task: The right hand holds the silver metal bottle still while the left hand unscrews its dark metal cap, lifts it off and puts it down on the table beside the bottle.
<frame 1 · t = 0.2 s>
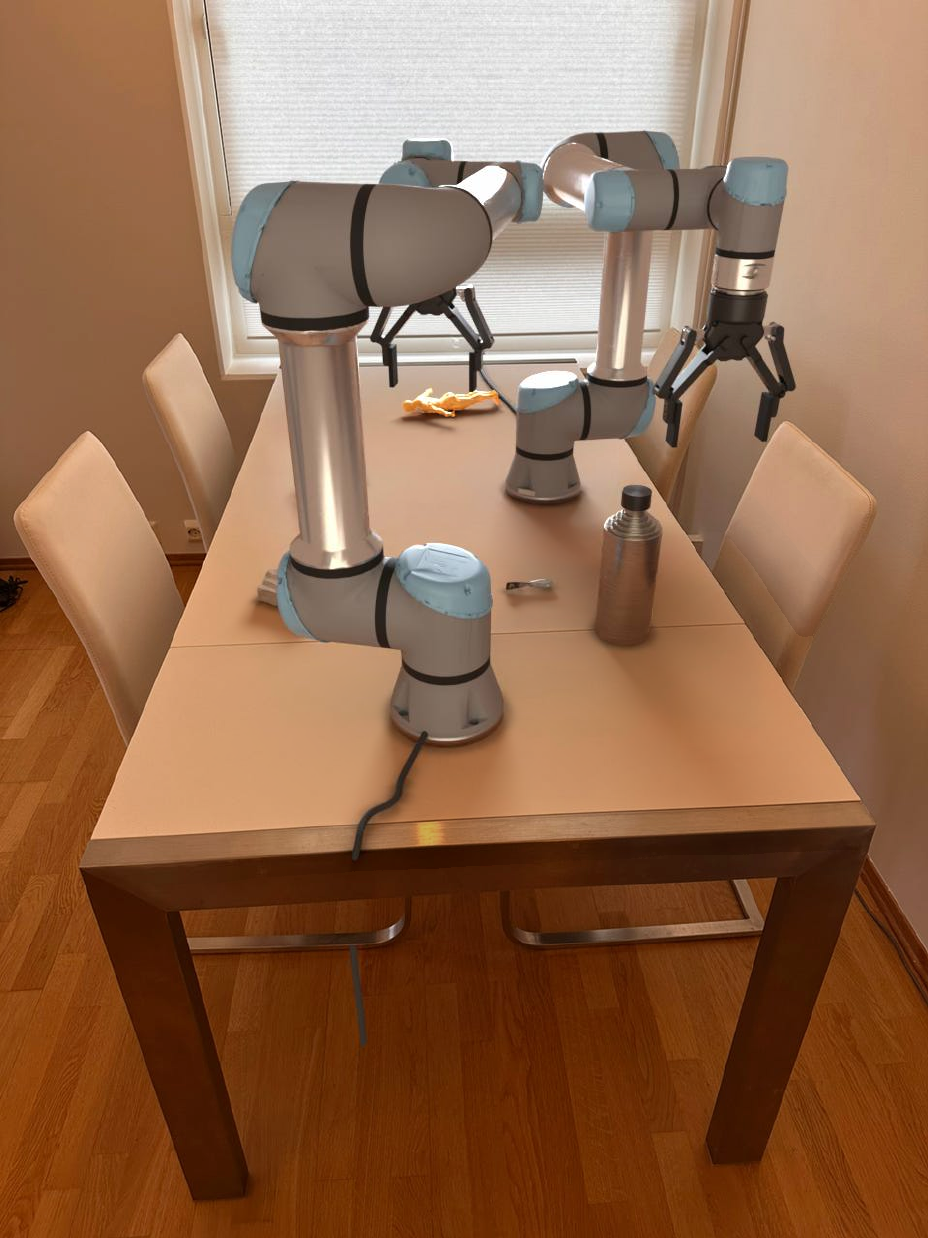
left hand: (433, 387, 149), 29 cm above the table, tool pointing down, fingers open, 13 cm apart
right hand: (716, 441, 129), 28 cm above the table, tool pointing down, fingers open, 13 cm apart
stone: (296, 599, 147), on the table
bottle: (622, 631, 138), on the table
handgun: (337, 495, 182), on the table
putty knife: (529, 589, 149), on the table
human figure: (450, 410, 226), on the table
cap: (636, 492, 126), point 23 cm above the table, screwed on, not yet turned
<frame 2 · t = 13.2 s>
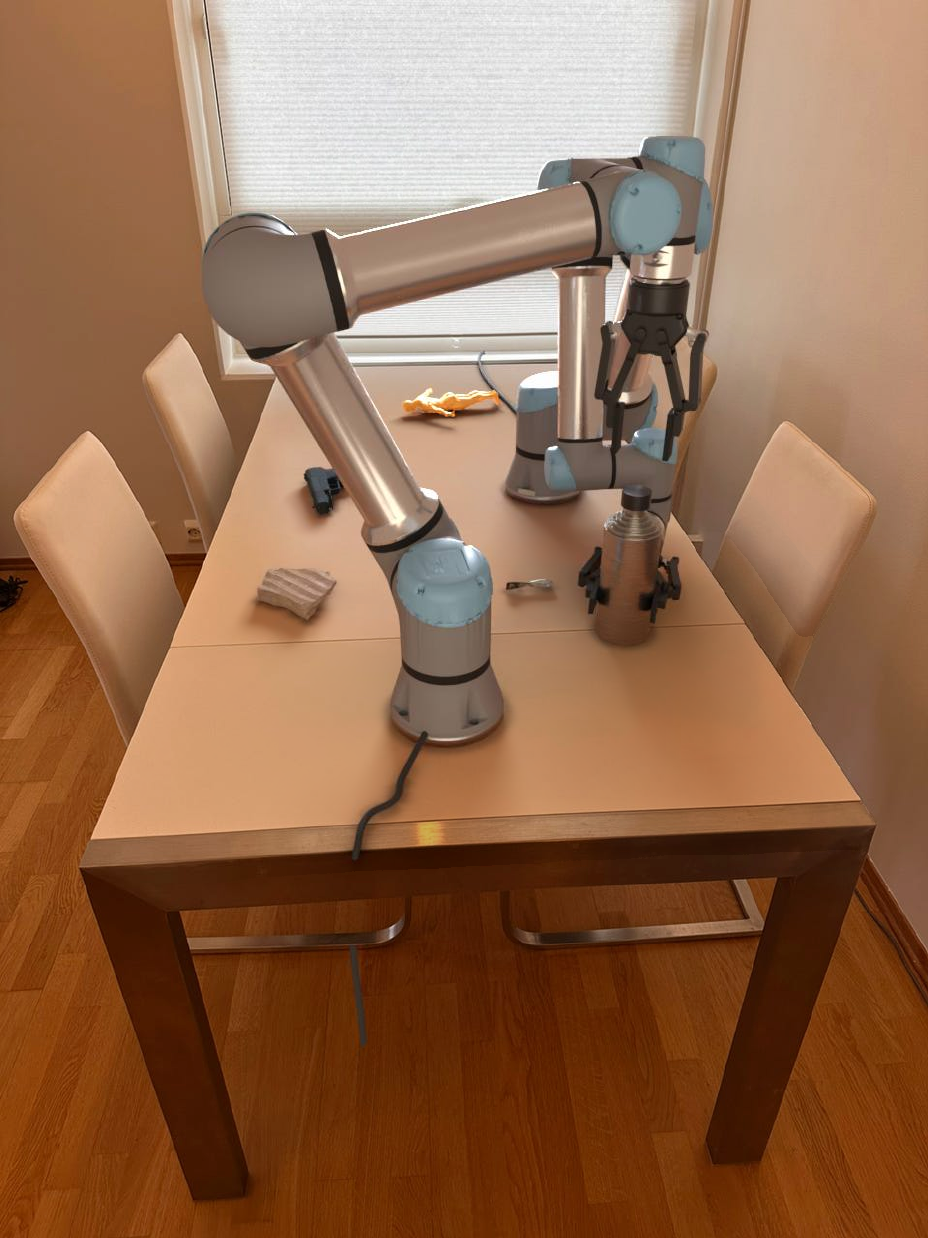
left hand: (641, 453, 123), 29 cm above the table, tool pointing down, fingers open, 6 cm apart
right hand: (621, 610, 131), 7 cm above the table, tool horizontal, fingers closed on bottle, 8 cm apart
bottle: (622, 631, 138), on the table, touching right hand
everything else where it was.
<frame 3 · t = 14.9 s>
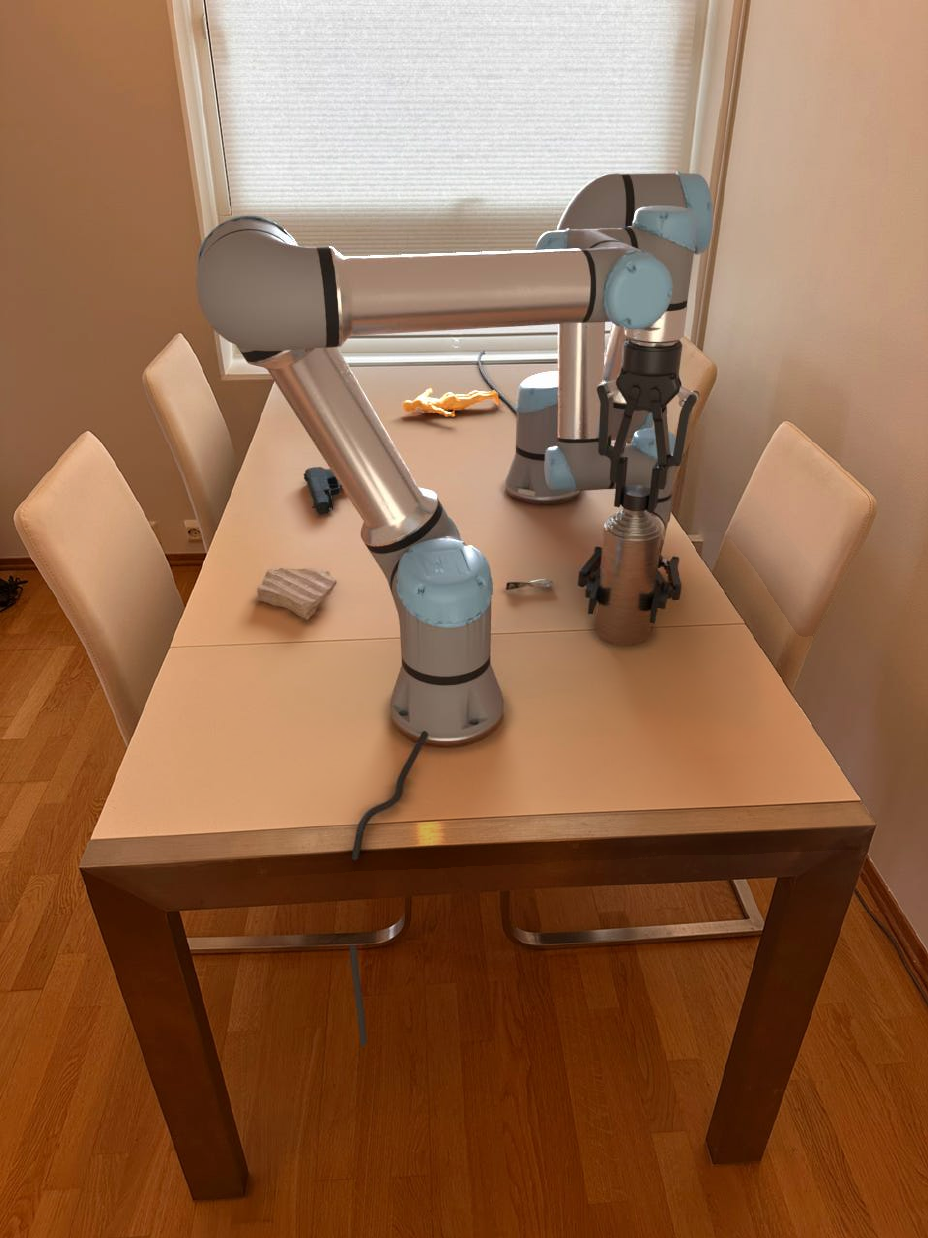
left hand: (635, 505, 127), 21 cm above the table, tool pointing down, fingers closed on cap, 4 cm apart
right hand: (621, 610, 131), 6 cm above the table, tool horizontal, fingers closed on bottle, 8 cm apart
bottle: (622, 631, 138), on the table, touching right hand
cap: (636, 492, 126), point 23 cm above the table, screwed on, not yet turned, touching left hand
everything else where it was.
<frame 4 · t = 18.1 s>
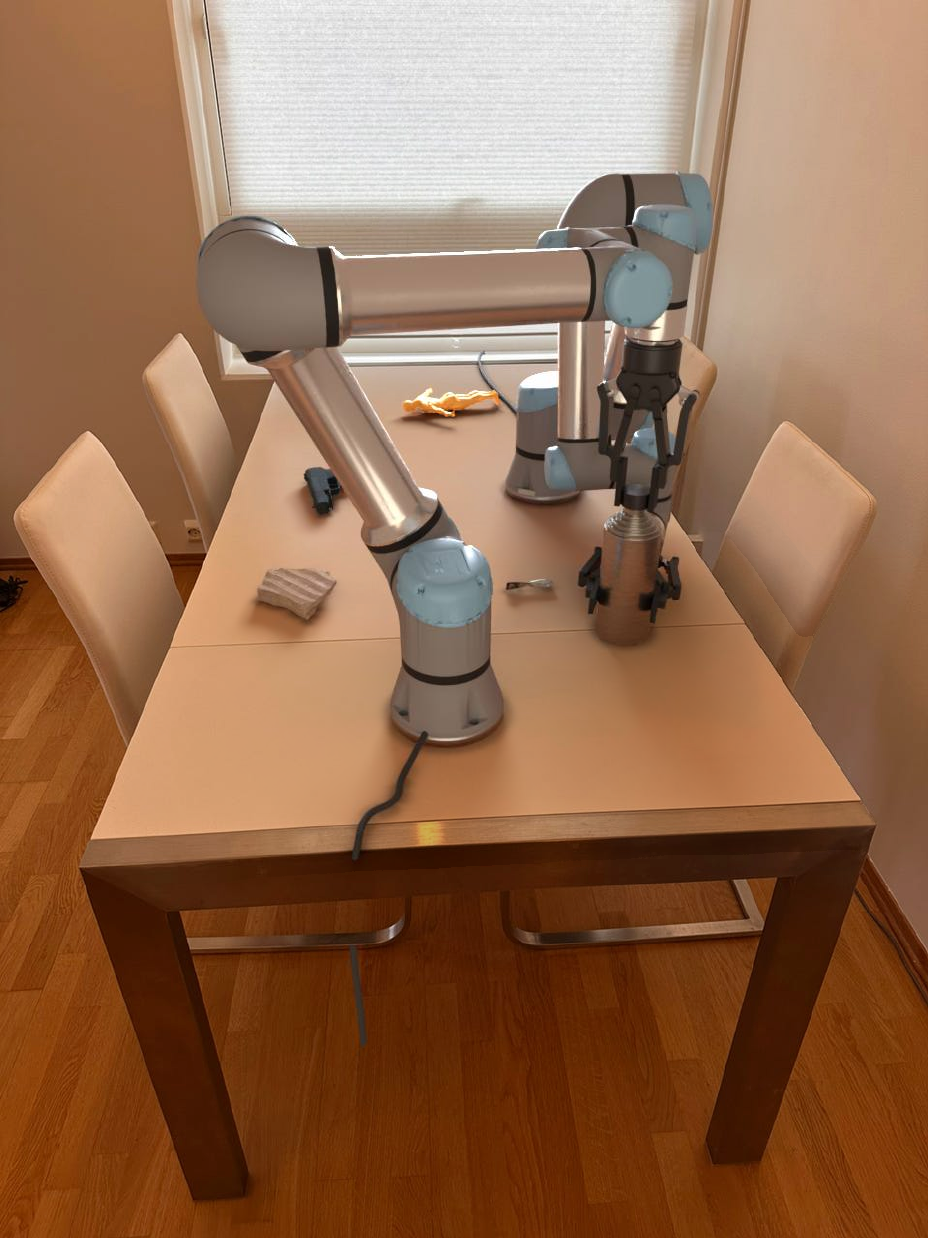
left hand: (635, 504, 127), 21 cm above the table, tool pointing down, fingers closed on cap, 4 cm apart
right hand: (621, 610, 131), 6 cm above the table, tool horizontal, fingers closed on bottle, 8 cm apart
bottle: (622, 631, 138), on the table, touching right hand
cap: (637, 491, 126), point 23 cm above the table, turned 106° so far, risen 0.1 cm, still on its thread, touching left hand
everything else where it was.
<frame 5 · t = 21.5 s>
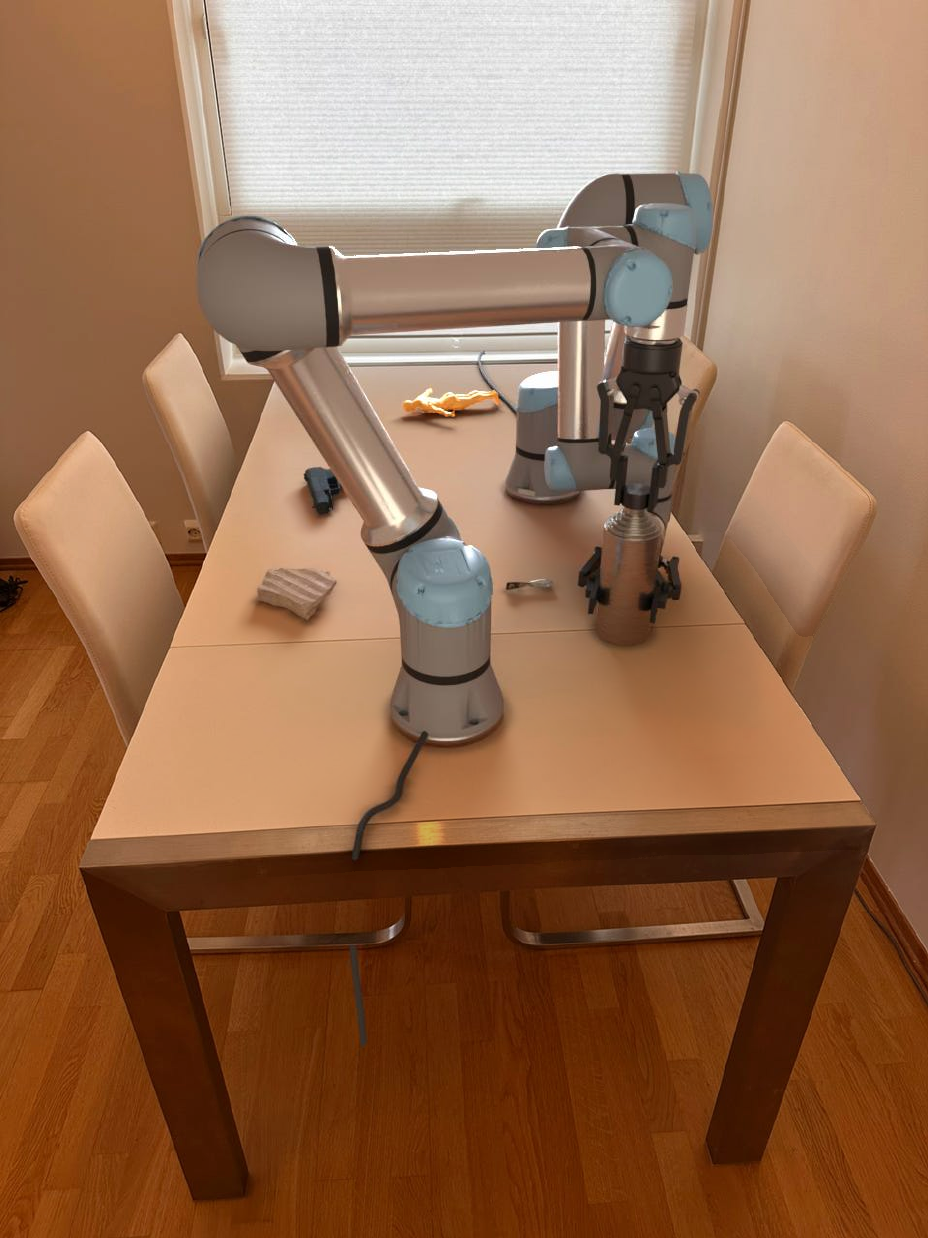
left hand: (635, 504, 127), 22 cm above the table, tool pointing down, fingers closed on cap, 4 cm apart
right hand: (621, 610, 131), 6 cm above the table, tool horizontal, fingers closed on bottle, 8 cm apart
bottle: (622, 631, 138), on the table, touching right hand
cap: (637, 490, 126), point 24 cm above the table, turned 211° so far, risen 0.2 cm, still on its thread, touching left hand
everything else where it was.
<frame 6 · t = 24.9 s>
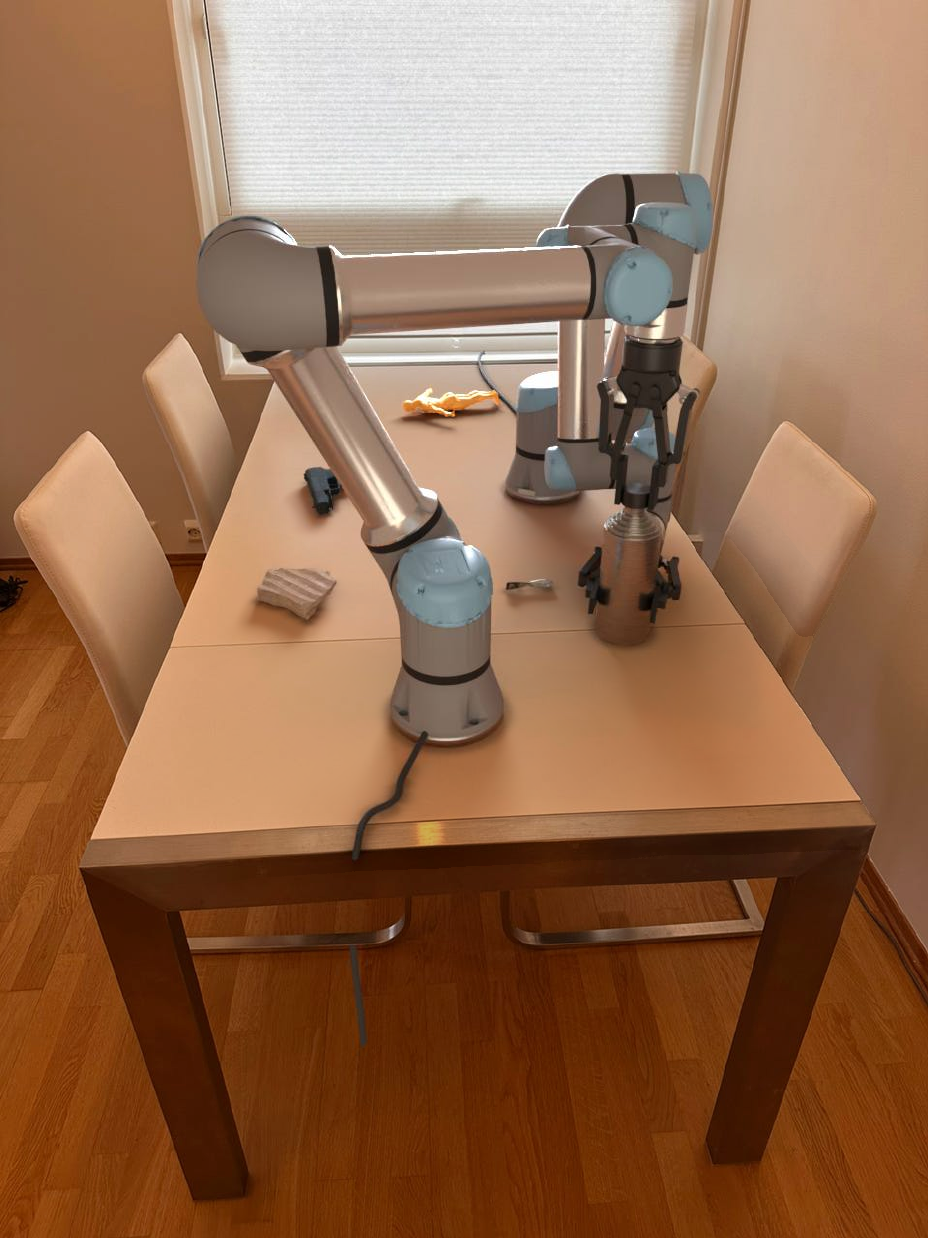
left hand: (635, 503, 127), 22 cm above the table, tool pointing down, fingers closed on cap, 4 cm apart
right hand: (621, 610, 131), 6 cm above the table, tool horizontal, fingers closed on bottle, 8 cm apart
bottle: (622, 631, 138), on the table, touching right hand
cap: (637, 490, 126), point 24 cm above the table, turned 317° so far, risen 0.3 cm, still on its thread, touching left hand
everything else where it was.
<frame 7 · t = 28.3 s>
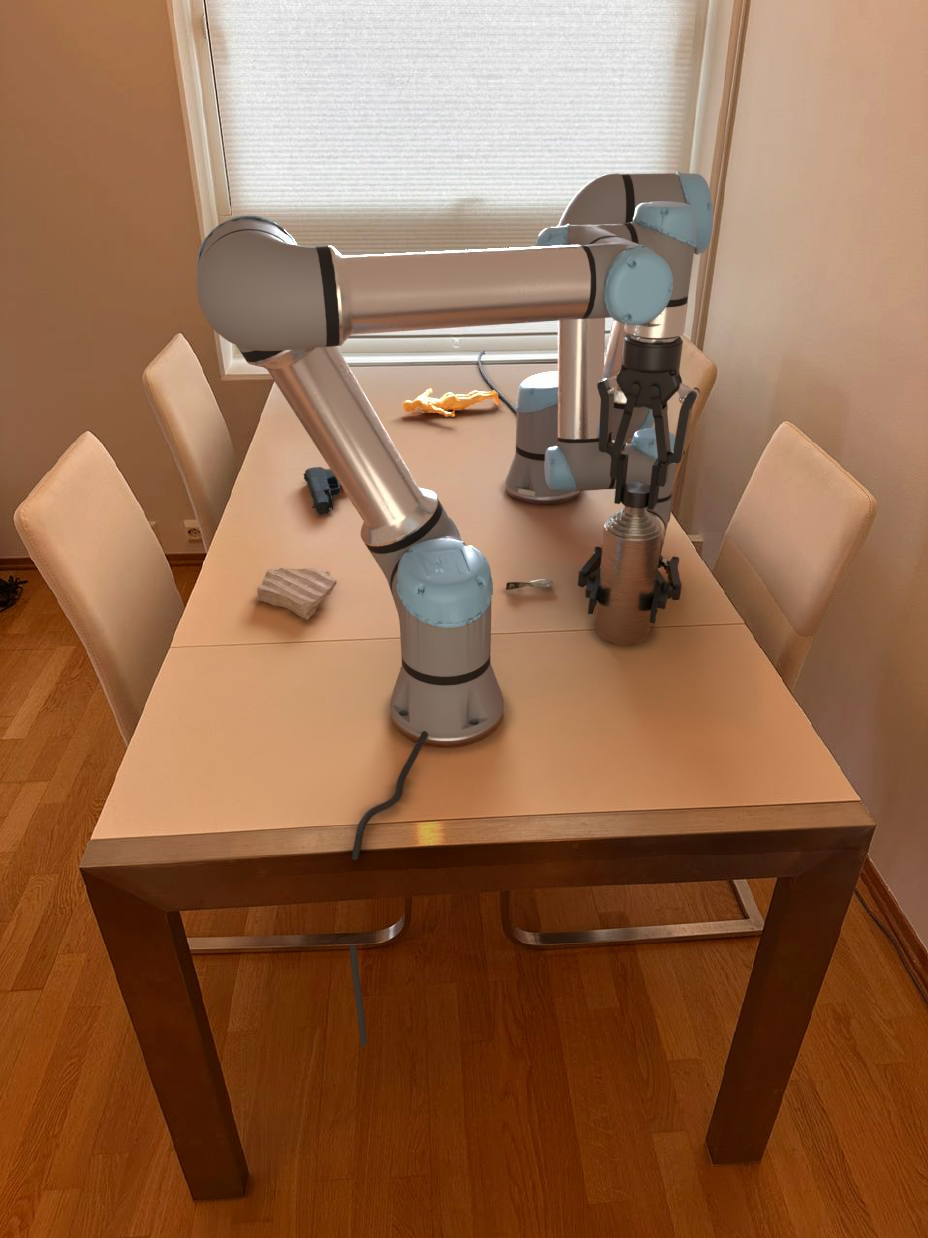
left hand: (635, 502, 126), 22 cm above the table, tool pointing down, fingers closed on cap, 4 cm apart
right hand: (621, 610, 131), 6 cm above the table, tool horizontal, fingers closed on bottle, 8 cm apart
bottle: (622, 631, 138), on the table, touching right hand
cap: (637, 489, 125), point 24 cm above the table, turned 423° so far, risen 0.5 cm, still on its thread, touching left hand
everything else where it was.
when the left hand's fingers open (1 cm above the table, at t = 35.4 s): cap drops 1 cm, point 2 cm above the table.
when the right hand's fingers open (7 cm above the table, at t = 36.7 s): bottle stays where it is, on the table.
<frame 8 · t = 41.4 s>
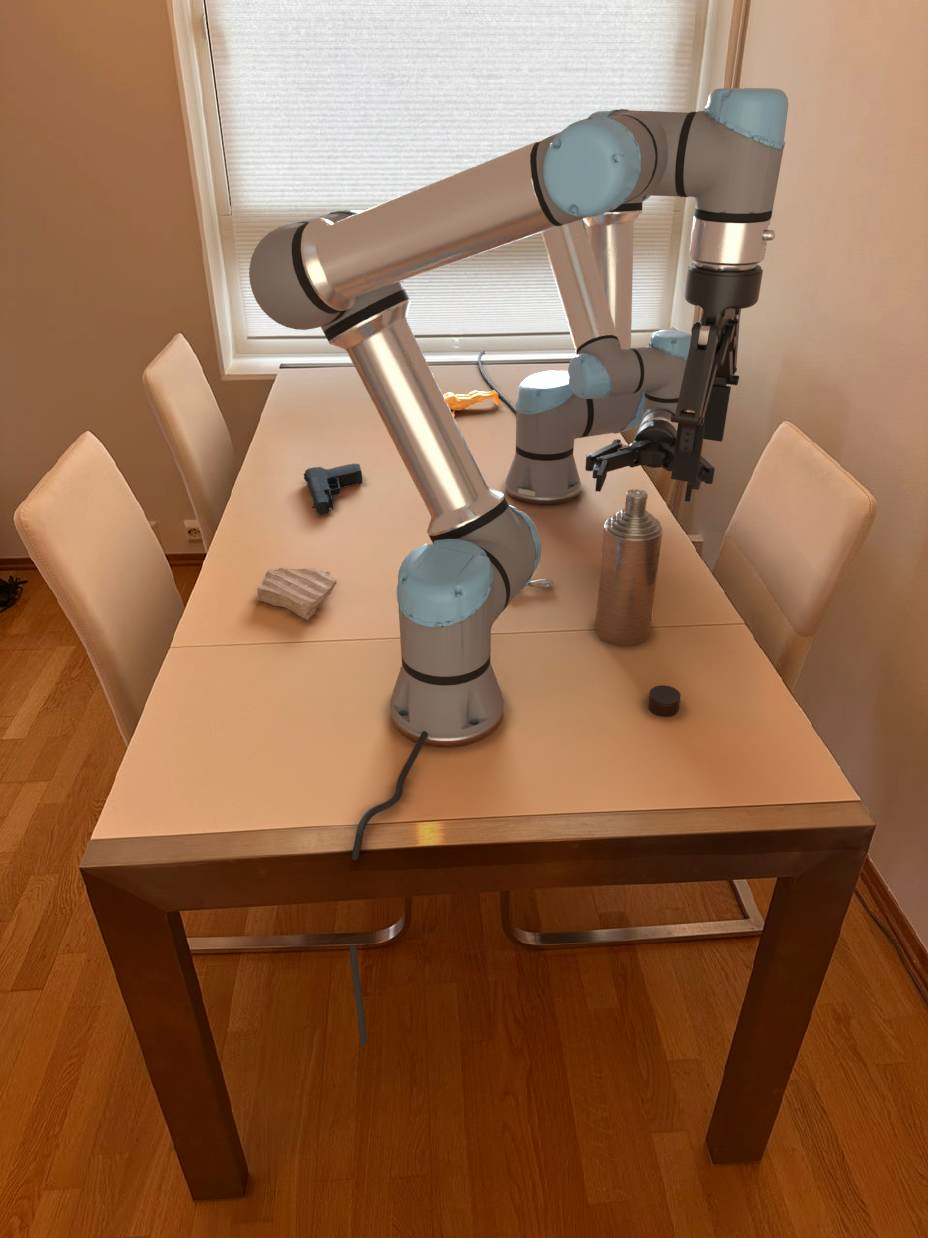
left hand: (698, 458, 103), 36 cm above the table, tool pointing down, fingers open, 13 cm apart
right hand: (642, 488, 136), 20 cm above the table, tool horizontal, fingers open, 13 cm apart
bottle: (622, 631, 138), on the table
cap: (664, 696, 121), point 2 cm above the table, off its thread
everything else where it was.
at the end: cap came off its thread; cap point 2.0 cm above the table; the left hand is holding nothing; the right hand is holding nothing; bottle tilted 0°; bottle moved 0.0 cm from its start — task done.
